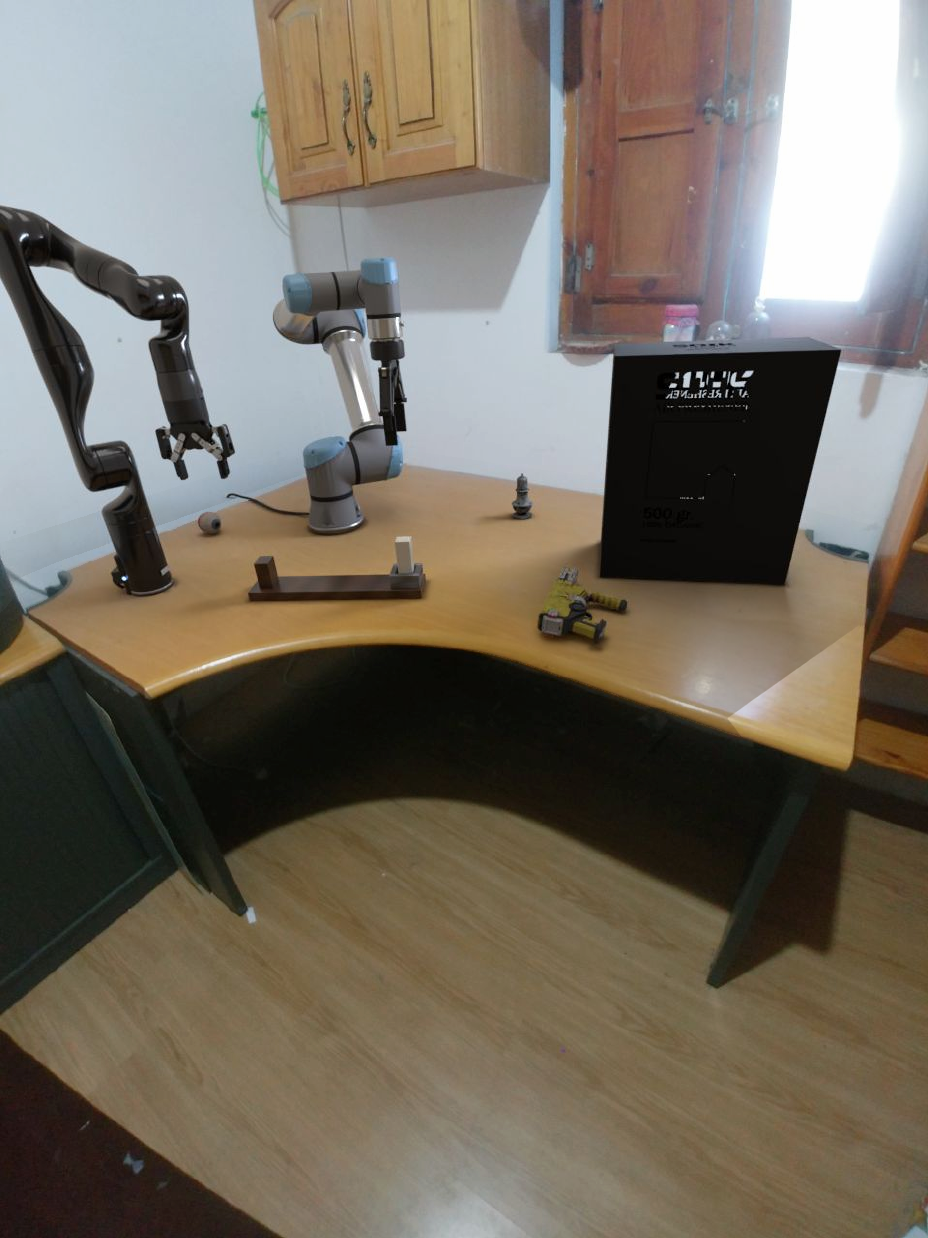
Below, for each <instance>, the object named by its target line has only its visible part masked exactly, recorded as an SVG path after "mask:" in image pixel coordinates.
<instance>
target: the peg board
mask: <svg viewBox="0 0 928 1238" xmlns="http://www.w3.org/2000/svg"><path fill="white" fill-rule="evenodd" d="M253 566H254V570H255V575H256V578H257V580H256V582H254V585H253V586H252V587H251V588H250V590H249V591H248V592H247V595H248V599H249V602H266V601H267V602H269V601H270V602H272V601H273V602H274V601H328V600H329V601H331V600H333V601H334V600H336V601H337V600H340V601H341V600H394V599H397V600H402V599H422V598H423V594H424V591H425V587H426V583H427V576H426V573H424V565H423V562H414V570H415V572H414V573H413V574H398V565H397V563H393V564H392V567H391V569H390V571H389V574H387V573H386V574H341V575H339V574H338V575H337V574H336V575H334V574H333V575H331V574H330V575H288V576H287V575H286V576H285V575H284V576H283V575H282V576H281V575H280V576H279V575H278V570H277V566H276V561H275V557H274V555H260V556H259V557H258V558H257V560H255V561H254V562H253Z"/></svg>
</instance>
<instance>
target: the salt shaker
mask: <svg viewBox="0 0 928 1238" xmlns="http://www.w3.org/2000/svg"><path fill="white" fill-rule="evenodd" d="M529 490H530V489H529V488H528V477H527V476H525V475H524V472H521V474H520V476H518V477H517V478H516V488H515V492H516V498H515V500H514V501H511V505H512V509H513V510H514V513H512V517H513V518H515V519H518V520H519V519H521V520H523V519H529V518H532V516H533V514H532V513H531V512H530V511H531V509H532V506H533V504H534V502H533V501H532V500H530V499H529Z"/></svg>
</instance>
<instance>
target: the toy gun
mask: <svg viewBox="0 0 928 1238" xmlns="http://www.w3.org/2000/svg"><path fill="white" fill-rule="evenodd" d="M568 571H569V572H570V573H569V572H568ZM578 576H579V569H577V568H576V567H572V569H570V566H564V567H563V568H562V570H561V572H560V575H559V576H558V577H557V579H556V580H555V582H554V583H553V586H552V588H551V590H550V592H549V593H548V596H547V597H546V600H545V602H544V603H543V606H542V607H541V610H540V611H539V613H538V616H537V624H536V628H537V630H538V631H539V632H541V633H544V636H546V637H548V636H549V637H550V638H554V637H555V636H559V637H565V636H568V635H571V634H573V633H575V634H578V635H582V636H584V637H587V638H590V639H592V640H594V645H599V643H600V642H601V640H602V639H603V638H604V636H605V632H606V628H607V622H608V621H607V620H605V619H604V618H601V619H600V620H599V622H596V621H593V618H594V617H593V615H592V613H591V612H589V611H587V610H588V609H587V606H588V605H589V603H593V604H597V605H598V606H602V605H603V607H605V608H607V607H608V608H609V609H613V610H614V609H615V611H619V612H620V613H623V612H626V610H627V608H628V603H629V601H628V600H627V599H625V598H624V599H623V598H617V597H616V596H611V595H610V594H605V593H600V592H598V591H592V592H591V593H590V594H589V593H588V591H587V589H586V588H585V587H583V586H578V585H576V584H577V582H578Z"/></svg>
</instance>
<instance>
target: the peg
mask: <svg viewBox="0 0 928 1238" xmlns="http://www.w3.org/2000/svg"><path fill="white" fill-rule="evenodd" d="M412 541H413V540H412V536H411V535H410V536H409V535H407V536H404V535H403V536H396V539H395V541H394V546H395V556H396V564H397V565H398V574H413V573H414V572H415V570H414V563H415V561H414V552H413V542H412Z"/></svg>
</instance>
